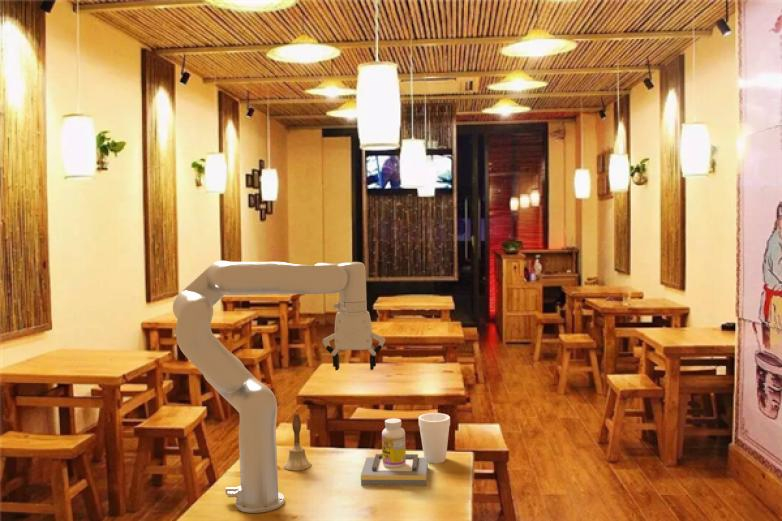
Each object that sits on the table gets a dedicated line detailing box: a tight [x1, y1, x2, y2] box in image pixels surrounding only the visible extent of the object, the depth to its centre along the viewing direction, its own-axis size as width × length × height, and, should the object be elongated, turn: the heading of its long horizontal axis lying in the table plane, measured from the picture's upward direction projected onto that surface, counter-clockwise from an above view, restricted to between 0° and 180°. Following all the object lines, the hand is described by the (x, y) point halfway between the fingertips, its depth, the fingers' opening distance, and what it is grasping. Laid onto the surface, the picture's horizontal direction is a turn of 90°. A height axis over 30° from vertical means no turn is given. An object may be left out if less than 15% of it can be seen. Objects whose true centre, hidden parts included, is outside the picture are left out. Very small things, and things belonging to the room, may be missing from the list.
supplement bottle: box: [381, 417, 406, 468], centre depth 206 cm, size 7×7×13 cm
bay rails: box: [372, 453, 419, 471], centre depth 208 cm, size 12×11×1 cm
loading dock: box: [360, 456, 429, 487], centre depth 206 cm, size 18×14×3 cm
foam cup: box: [417, 412, 451, 464], centre depth 219 cm, size 10×9×13 cm
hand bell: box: [283, 412, 312, 472], centre depth 216 cm, size 8×8×16 cm
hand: (354, 369), depth 199 cm, fingers open, 9 cm apart
